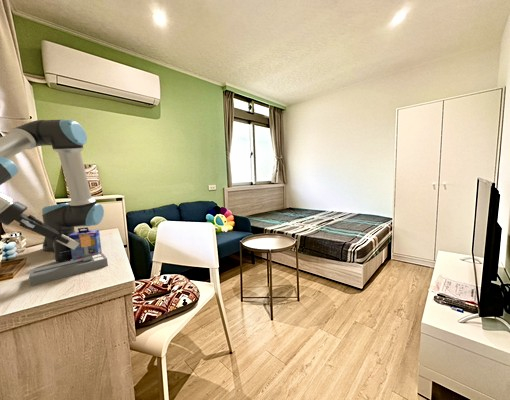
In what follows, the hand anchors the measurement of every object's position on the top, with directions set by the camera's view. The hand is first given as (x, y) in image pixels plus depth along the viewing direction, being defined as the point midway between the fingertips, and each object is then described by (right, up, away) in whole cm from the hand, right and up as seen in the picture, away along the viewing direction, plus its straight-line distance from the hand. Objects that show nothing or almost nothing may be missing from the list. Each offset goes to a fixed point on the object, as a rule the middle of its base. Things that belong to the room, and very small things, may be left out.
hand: (76, 246), depth 84 cm
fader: (+2, -6, +3) cm, 7 cm away
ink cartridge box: (-6, -9, +13) cm, 17 cm away
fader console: (-2, -10, 0) cm, 10 cm away
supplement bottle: (-15, -9, +13) cm, 22 cm away
